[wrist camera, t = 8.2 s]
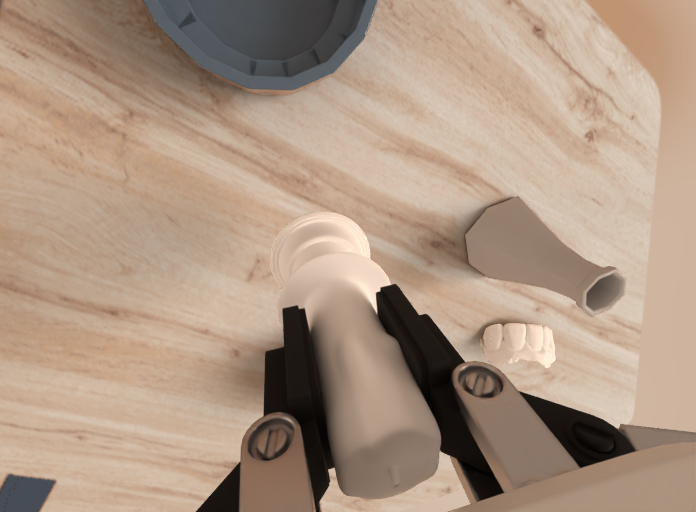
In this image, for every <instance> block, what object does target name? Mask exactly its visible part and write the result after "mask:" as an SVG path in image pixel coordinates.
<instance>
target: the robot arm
mask: <svg viewBox="0 0 696 512" xmlns="http://www.w3.org/2000/svg"><path fill="white" fill-rule="evenodd" d="M376 303H377V314H378V317H379V319H380V321H381V323H382V325H383V326H384V328H385V330H386V332H387V334H388V335H390V336H392V337H394V338H395V339H396V340H397V341H398V343H399V345H400V348H401V350H402V353H403V355H404V358H405V360H406V363H407V365H408V367H409V369H410V371H411V373H412V375H413V377H414V379H415V381H416V383H417V385H418V387H419V389H420V391H421V393H422V395H423V397H424V399H425V400H426V402H427V404H428V406H429V408H430V410H431V412H432V414H433V416H434V418H435V420H436V422H437V425H438V427H439V430H440V435H441V446H440V450H441V452H443V453H445V454H447V455H449V456H450V458H451V461H452V464H453V466H454V468H455V470H456V473H457V475H458V477H459V479H460V481H461V484H462V486H463V488H464V490H465V492H466V494H467V497H468V499H469V501H470V503H471V504H470V505H467V506H464V507H461V508H458V509H455V510H452V511H449V512H696V433H695V432H686V431H677V430H667V429H659V428H650V427H642V426H633V425H624V424H620V427H619V429H618V428H615V427H614V426H612V425H611V424H609V423H608V422H606V421H605V420H603V419H600V418H598V417H596V416H593V415H590V414H587V413H584V412H581V411H578V410H575V409H572V408H569V407H566V406H563V405H560V404H557V403H554V402H551V401H547V400H544V399H541V398H538V397H535V396H532V395H529V394H526V393H523V392H520V391H518V390H517V389H516V388H515V387H514V385H513V384H512V383H511V382H510V380H509V379H508V378H507V377H506V375H505V374H503V373H502V372H501V371H500V370H499V369H497V368H496V367H494V366H492V365H490V364H487V363H484V362H477V361H472V362H465V361H464V360H463V359H462V357H461V356H460V355H459V354H458V352H457V351H456V350H455V348H454V347H453V346H452V345H451V343H450V342H449V341H448V340H447V338H446V337H445V336H444V334H443V333H442V332H441V331H440V329H439V328H438V327H437V325H436V324H435V323H434V322H433V320H432V319H431V318H430V317H429V316H428V315H427V314H423V315H419V314H418V313H417V312H416V310H415V309H414V308H413V306H412V305H411V303H410V302H409V301H408V299H407V298H406V297H405V295H404V294H403V293H402V291H401V290H400V288H399V287H398V286H397V285H396V284H393V285H388V286H384V287H381V288H380V291H379V292H376ZM282 313H283V331H284V347H282V348H278V349H274V350H270V351H266V353H265V383H264V416H263V417H261V418H260V419H258V420H257V421H256V422H254V423H253V424H252V425H251V427H250V428H249V429H248V430H247V432H246V434H245V435H244V437H243V440H242V445H241V461H240V462H239V464H238V465H237V466H236V467H235V468H234V469H233V470H232V471H231V473H230V474H229V475H228V476H227V477H226V478H225V479H224V481H223V482H222V483H221V484H220V485H219V486H218V487H217V488H216V490H215V491H214V492H213V493H212V494H211V495H210V496H209V497H208V499H207V500H206V501H205V502H204V503H203V504H202V505H201V507H200V508H199V509H198V510H197V511H196V512H322V510H321V504H320V500H321V498H322V497H323V495H324V493H325V492H326V490H327V488H328V487H329V482H330V478H329V472H328V469H331V468H334V463H333V459H332V454H331V450H330V445H329V440H328V435H327V426H326V421H325V415H324V410H323V404H322V398H321V393H320V387H319V381H318V376H317V370H316V364H315V358H314V353H313V347H312V341H311V336H310V331H309V326H308V321H307V316H306V311H305V308H302V309H299V307H298V305H296V306H291V307H287V308H283V309H282Z"/></svg>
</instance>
